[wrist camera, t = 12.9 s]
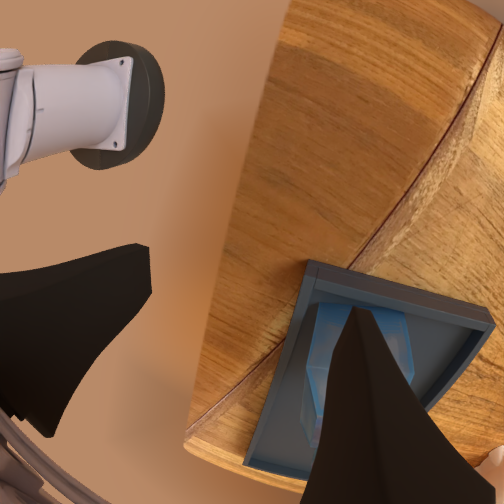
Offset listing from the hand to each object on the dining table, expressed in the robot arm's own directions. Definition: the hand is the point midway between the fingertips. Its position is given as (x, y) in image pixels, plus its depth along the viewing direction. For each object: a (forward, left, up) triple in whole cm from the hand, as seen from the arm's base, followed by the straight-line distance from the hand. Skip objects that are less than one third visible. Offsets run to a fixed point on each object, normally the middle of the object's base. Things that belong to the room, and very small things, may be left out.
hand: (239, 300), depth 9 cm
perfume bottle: (+7, -8, -10) cm, 15 cm away
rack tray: (+10, -21, -10) cm, 25 cm away
